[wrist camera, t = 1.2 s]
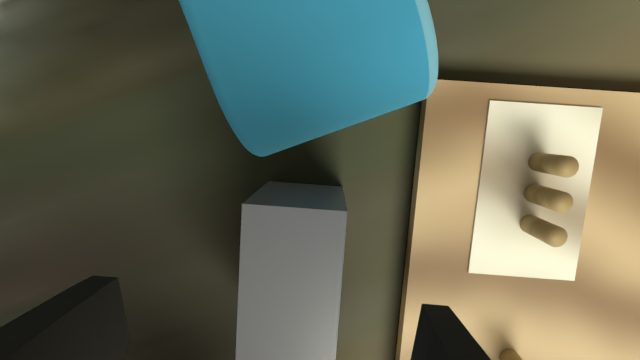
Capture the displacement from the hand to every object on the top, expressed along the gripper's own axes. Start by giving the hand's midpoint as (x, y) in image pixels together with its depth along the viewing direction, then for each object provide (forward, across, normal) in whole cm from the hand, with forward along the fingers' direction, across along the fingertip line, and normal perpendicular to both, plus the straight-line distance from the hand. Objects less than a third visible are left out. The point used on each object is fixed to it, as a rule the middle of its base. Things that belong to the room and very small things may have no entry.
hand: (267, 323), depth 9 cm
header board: (+10, -12, +6) cm, 16 cm away
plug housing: (+10, 0, +4) cm, 11 cm away
